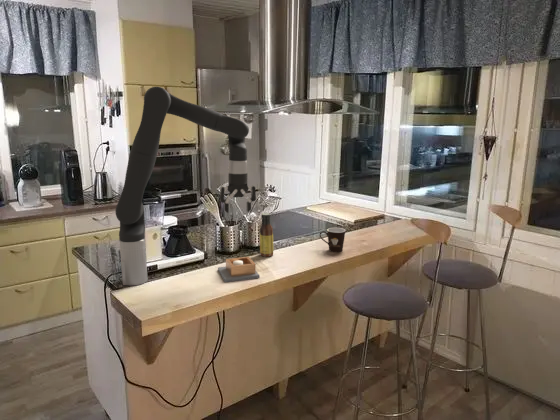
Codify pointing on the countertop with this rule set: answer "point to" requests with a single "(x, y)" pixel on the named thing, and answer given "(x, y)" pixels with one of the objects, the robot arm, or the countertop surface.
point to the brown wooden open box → (241, 267)
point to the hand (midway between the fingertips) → (237, 211)
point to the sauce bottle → (266, 236)
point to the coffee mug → (335, 239)
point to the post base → (228, 278)
